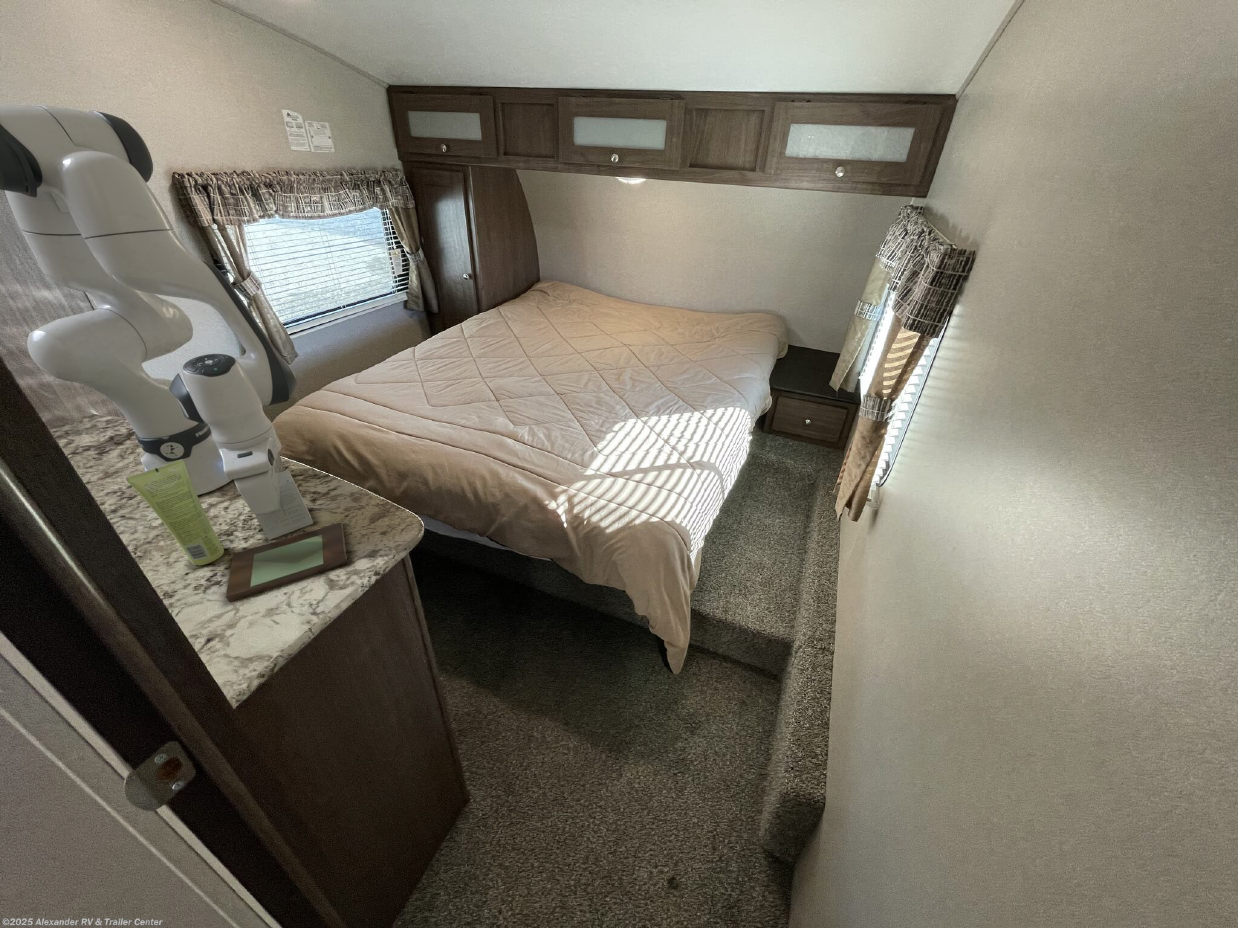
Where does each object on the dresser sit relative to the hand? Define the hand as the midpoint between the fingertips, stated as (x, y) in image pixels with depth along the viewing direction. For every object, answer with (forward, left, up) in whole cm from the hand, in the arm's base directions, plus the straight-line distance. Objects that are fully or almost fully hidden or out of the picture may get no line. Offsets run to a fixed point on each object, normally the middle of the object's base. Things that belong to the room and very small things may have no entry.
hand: (280, 506), depth 95 cm
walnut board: (+12, 0, -5) cm, 13 cm away
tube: (+3, -13, -5) cm, 14 cm away
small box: (0, 0, -5) cm, 5 cm away
